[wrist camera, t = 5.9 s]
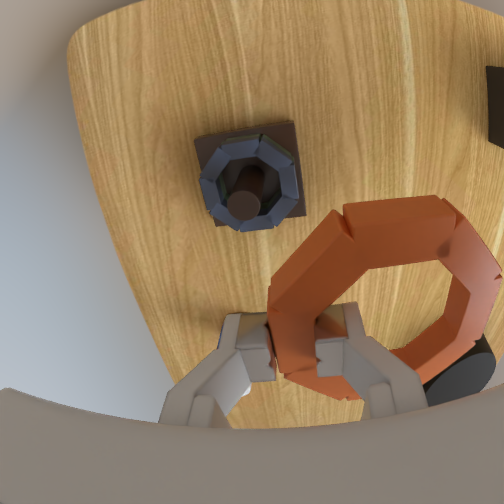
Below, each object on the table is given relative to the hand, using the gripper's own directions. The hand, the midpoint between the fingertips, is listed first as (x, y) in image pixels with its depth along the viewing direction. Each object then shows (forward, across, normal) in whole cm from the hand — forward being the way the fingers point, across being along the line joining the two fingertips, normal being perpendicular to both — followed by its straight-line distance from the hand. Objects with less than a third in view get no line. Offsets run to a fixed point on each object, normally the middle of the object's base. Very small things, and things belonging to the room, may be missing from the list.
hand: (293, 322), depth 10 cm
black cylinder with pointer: (+21, -23, +35) cm, 47 cm away
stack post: (+21, +3, +1) cm, 21 cm away
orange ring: (0, -3, 0) cm, 3 cm away
